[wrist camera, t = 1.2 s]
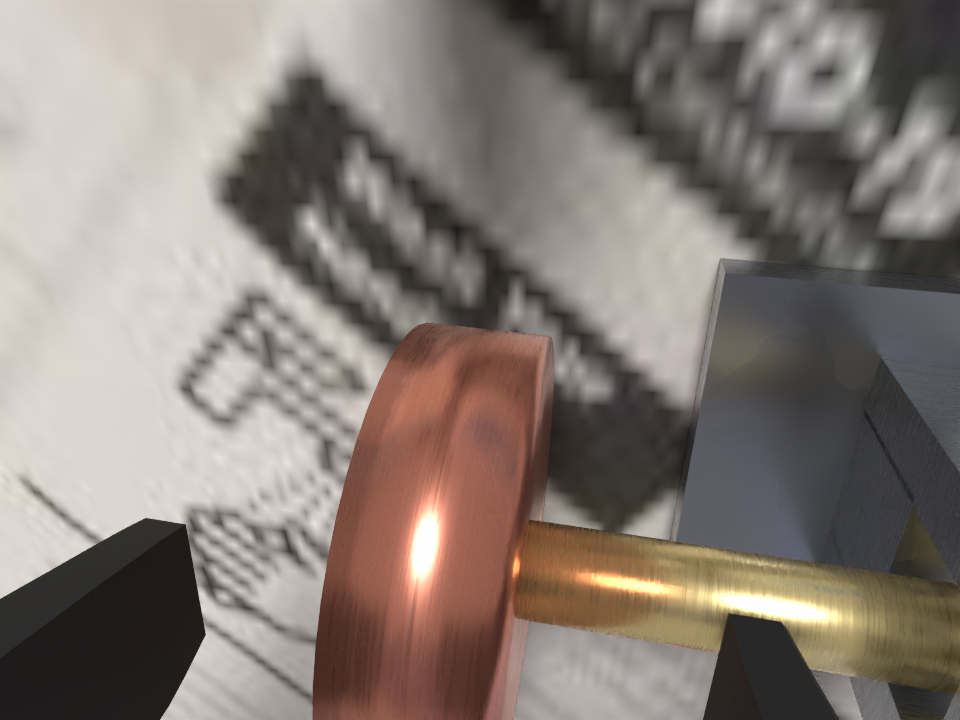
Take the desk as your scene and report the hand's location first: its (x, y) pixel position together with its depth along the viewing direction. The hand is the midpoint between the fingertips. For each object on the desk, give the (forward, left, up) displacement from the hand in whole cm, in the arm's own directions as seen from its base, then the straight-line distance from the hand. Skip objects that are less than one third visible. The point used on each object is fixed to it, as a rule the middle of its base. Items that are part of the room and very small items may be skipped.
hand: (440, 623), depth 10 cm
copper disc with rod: (-4, -2, -5) cm, 7 cm away
